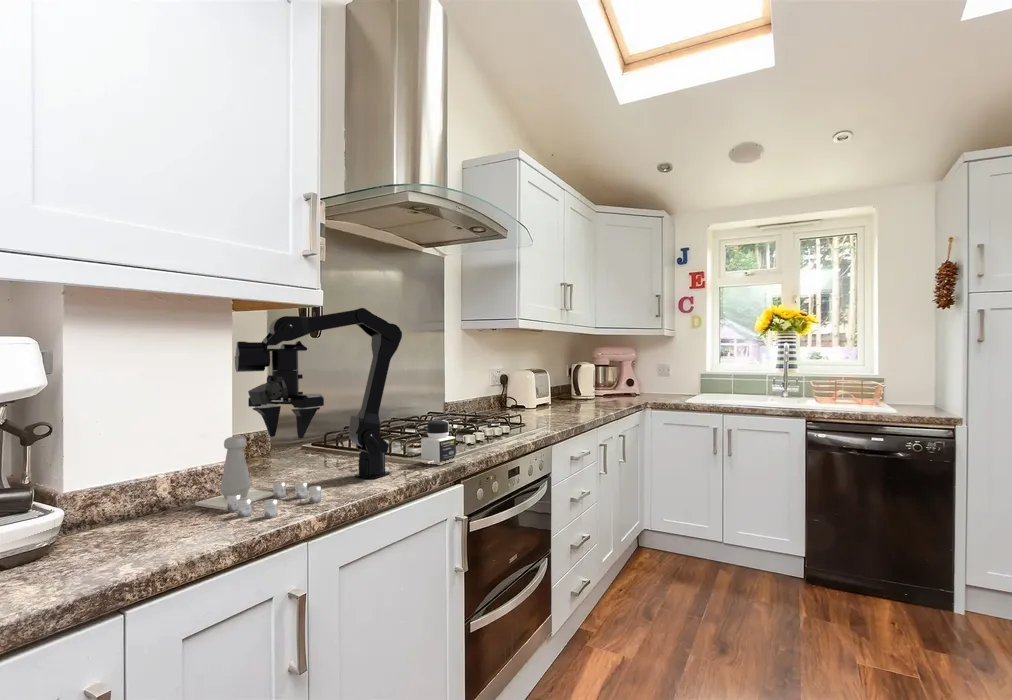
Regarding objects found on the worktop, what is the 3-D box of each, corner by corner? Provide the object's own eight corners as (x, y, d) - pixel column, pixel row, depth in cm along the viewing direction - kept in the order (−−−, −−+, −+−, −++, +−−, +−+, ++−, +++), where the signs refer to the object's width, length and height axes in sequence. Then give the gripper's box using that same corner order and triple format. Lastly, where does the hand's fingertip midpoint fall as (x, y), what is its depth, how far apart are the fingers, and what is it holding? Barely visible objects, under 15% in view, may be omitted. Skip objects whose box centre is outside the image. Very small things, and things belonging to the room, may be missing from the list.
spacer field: (285, 493, 116) (285, 479, 116) (328, 498, 110) (328, 484, 110) (217, 513, 101) (217, 498, 101) (263, 521, 96) (263, 505, 96)
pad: (246, 491, 118) (246, 488, 118) (273, 495, 115) (273, 492, 115) (195, 505, 108) (195, 502, 108) (223, 509, 104) (223, 506, 104)
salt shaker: (230, 502, 107) (229, 439, 107) (215, 499, 110) (214, 438, 110) (256, 495, 112) (255, 435, 112) (241, 492, 115) (240, 434, 115)
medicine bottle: (440, 466, 142) (439, 422, 142) (420, 463, 146) (420, 421, 146) (456, 461, 148) (455, 419, 148) (437, 459, 152) (436, 418, 152)
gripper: (226, 372, 117) (227, 441, 117) (285, 371, 109) (286, 445, 109) (268, 370, 127) (269, 434, 127) (325, 369, 119) (326, 437, 119)
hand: (286, 437), depth 120 cm, fingers open, 9 cm apart
